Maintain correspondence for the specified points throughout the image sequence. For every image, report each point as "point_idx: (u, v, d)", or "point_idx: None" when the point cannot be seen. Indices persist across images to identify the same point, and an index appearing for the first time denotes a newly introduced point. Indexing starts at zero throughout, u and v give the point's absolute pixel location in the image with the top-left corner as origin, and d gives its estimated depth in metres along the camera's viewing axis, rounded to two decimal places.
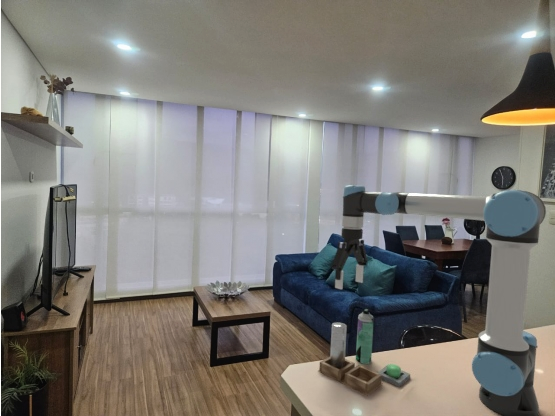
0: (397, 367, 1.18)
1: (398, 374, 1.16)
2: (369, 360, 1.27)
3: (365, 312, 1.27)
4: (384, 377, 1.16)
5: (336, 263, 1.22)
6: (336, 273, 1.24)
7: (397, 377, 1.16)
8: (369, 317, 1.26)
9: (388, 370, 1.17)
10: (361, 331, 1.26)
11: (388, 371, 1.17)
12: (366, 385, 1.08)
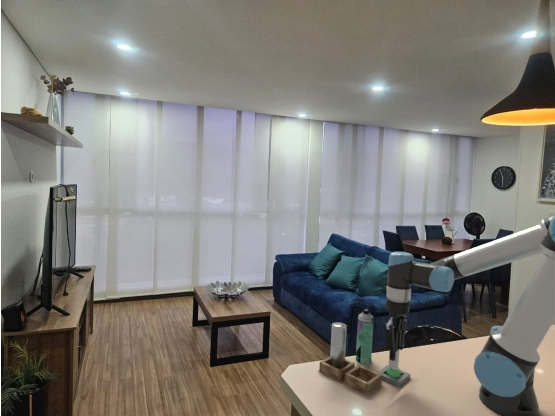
0: None
1: (398, 376, 1.16)
2: (369, 360, 1.27)
3: (365, 312, 1.27)
4: (384, 377, 1.16)
5: (390, 345, 1.14)
6: (391, 353, 1.16)
7: None
8: (369, 317, 1.26)
9: (388, 372, 1.17)
10: (361, 331, 1.26)
11: (388, 373, 1.17)
12: (366, 385, 1.08)
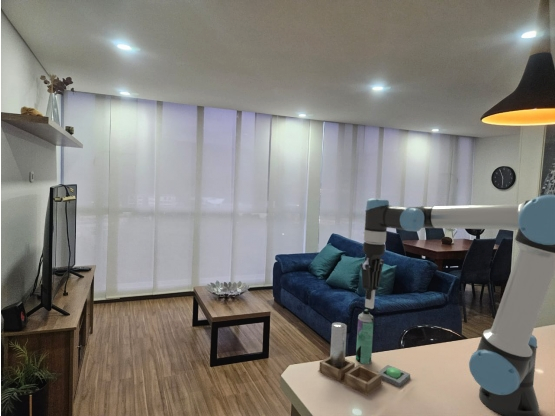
0: (397, 370, 1.18)
1: (398, 377, 1.16)
2: (369, 360, 1.27)
3: (365, 312, 1.27)
4: (384, 377, 1.16)
5: (366, 284, 1.22)
6: (367, 293, 1.25)
7: None
8: (369, 317, 1.26)
9: (388, 373, 1.17)
10: (361, 331, 1.26)
11: (388, 374, 1.17)
12: (366, 385, 1.08)
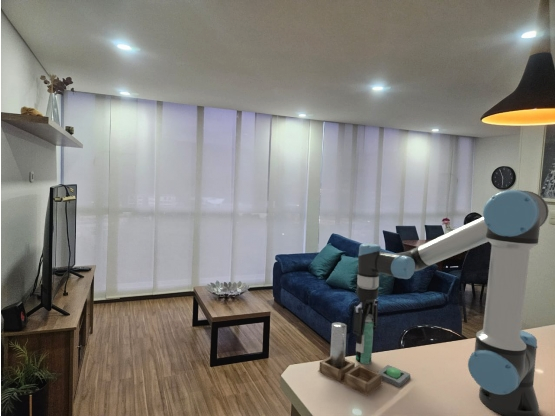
0: (397, 370, 1.18)
1: (398, 377, 1.16)
2: (369, 360, 1.27)
3: None
4: (384, 377, 1.16)
5: (356, 329, 1.23)
6: (357, 337, 1.25)
7: None
8: (369, 317, 1.26)
9: (388, 373, 1.17)
10: None
11: (388, 374, 1.17)
12: (366, 385, 1.08)
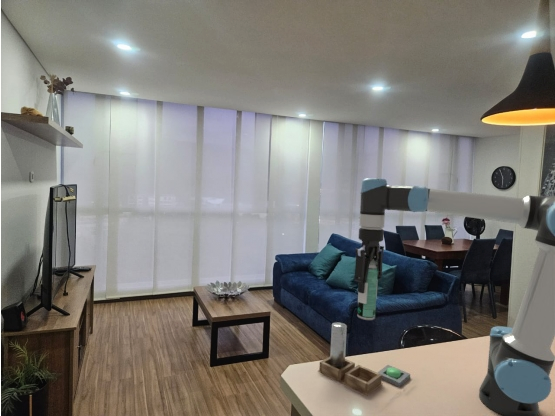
0: (397, 370, 1.18)
1: (398, 377, 1.16)
2: (373, 312, 1.10)
3: None
4: (384, 377, 1.16)
5: (359, 275, 1.06)
6: (359, 285, 1.08)
7: None
8: (373, 262, 1.09)
9: (388, 373, 1.17)
10: None
11: (388, 374, 1.17)
12: (366, 385, 1.08)
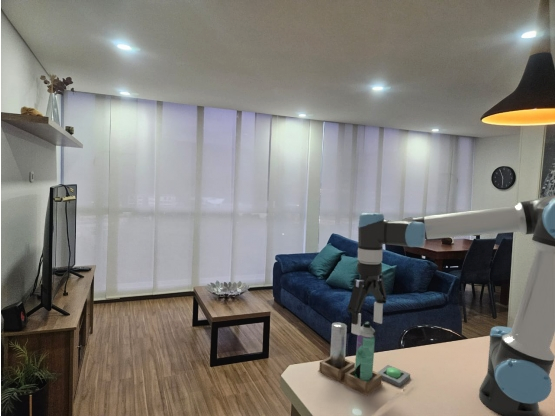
0: (397, 370, 1.18)
1: (398, 377, 1.16)
2: None
3: (366, 325, 1.11)
4: (384, 377, 1.16)
5: (352, 305, 1.04)
6: (352, 316, 1.06)
7: None
8: (370, 331, 1.10)
9: (388, 373, 1.17)
10: (361, 346, 1.11)
11: (388, 374, 1.17)
12: (366, 385, 1.08)
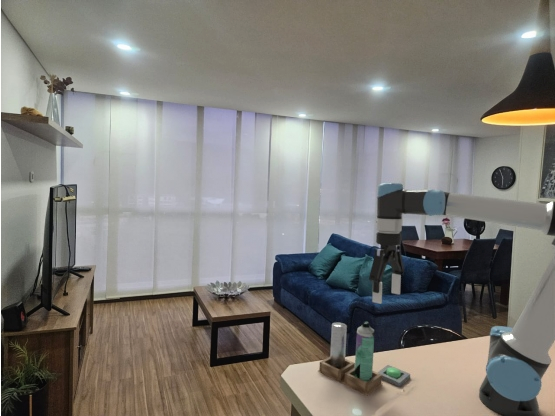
0: (397, 370, 1.18)
1: (398, 377, 1.16)
2: (369, 380, 1.11)
3: (365, 325, 1.11)
4: (384, 377, 1.16)
5: (374, 273, 1.05)
6: (374, 285, 1.07)
7: None
8: (369, 331, 1.10)
9: (388, 373, 1.17)
10: (360, 346, 1.11)
11: (388, 374, 1.17)
12: (366, 385, 1.08)
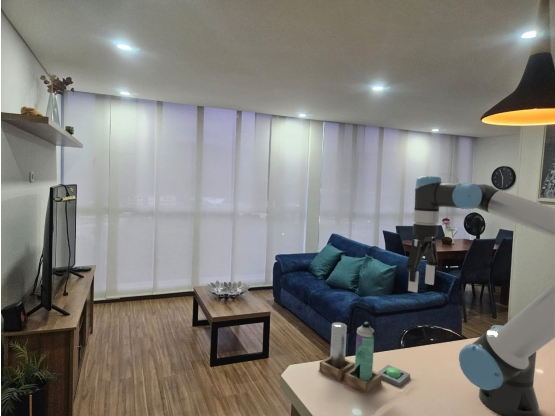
0: (397, 370, 1.18)
1: (398, 377, 1.16)
2: (369, 380, 1.11)
3: (365, 325, 1.11)
4: (384, 377, 1.16)
5: (411, 263, 1.09)
6: (411, 274, 1.10)
7: None
8: (369, 331, 1.10)
9: (388, 373, 1.17)
10: (360, 347, 1.11)
11: (388, 374, 1.17)
12: (366, 385, 1.08)
